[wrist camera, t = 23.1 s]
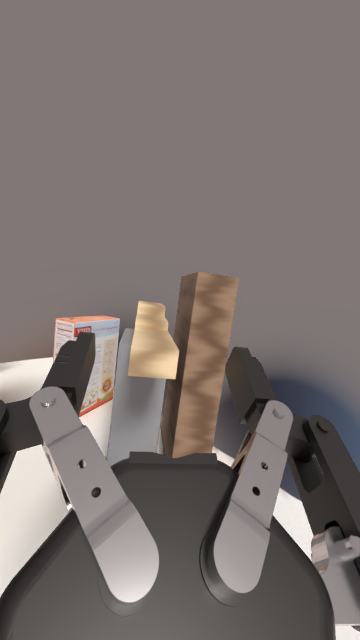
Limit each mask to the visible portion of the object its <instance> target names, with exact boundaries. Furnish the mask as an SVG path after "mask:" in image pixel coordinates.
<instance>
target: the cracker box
mask: <svg viewBox="0 0 360 640" xmlns="http://www.w3.org/2000/svg"><path fill="white" fill-rule="evenodd" d="M119 324H120V319H118V318H113V317H109V316H87V317H70V318H57V319H56V322H55V339H54V356H53V363H54V361H55V359H56V356H57V354H58V352H59V350H60V348H61V346H62V345H64V344H65V343H66V342H67V341H68V340H72V341H76V340H77V338H78V335H79V333H80V332H90V333H95V350H96V354H95V362H94V366H93V369H92V373H91V376H90V380H89V383H88V386H87V390H86V393H85V397H84V400H83V404H82V407H81V411H80V414H79V417H80V416H81V415H83V414H85V413H87V412H89V411H91V410H92V409H94V408H96V407H98V406H100V405H102V404H103V403H105V402H107V401H109V400H111V399H112V398H113V388H114V377H115V367H116V356H117V345H118V334H119Z"/></svg>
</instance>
